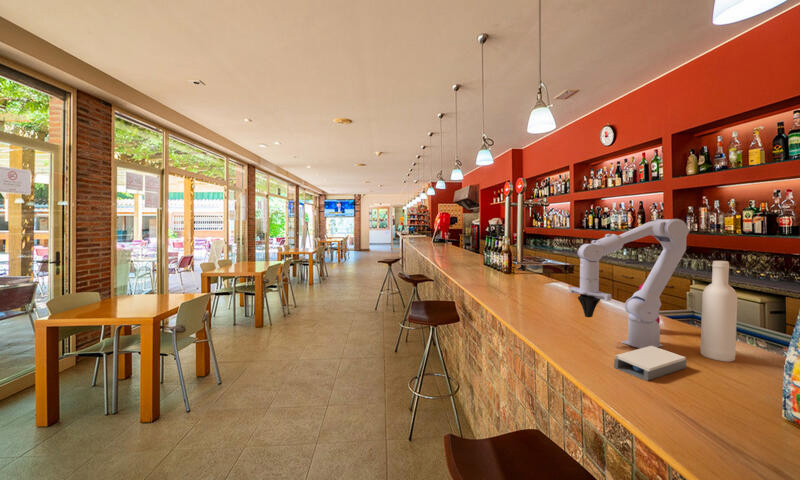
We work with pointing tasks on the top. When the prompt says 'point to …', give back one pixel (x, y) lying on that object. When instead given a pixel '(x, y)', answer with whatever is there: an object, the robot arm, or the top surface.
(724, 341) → the bottle
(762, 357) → the top surface
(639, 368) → the blue rounded capsule rod
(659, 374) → the cable duct
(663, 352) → the panel
